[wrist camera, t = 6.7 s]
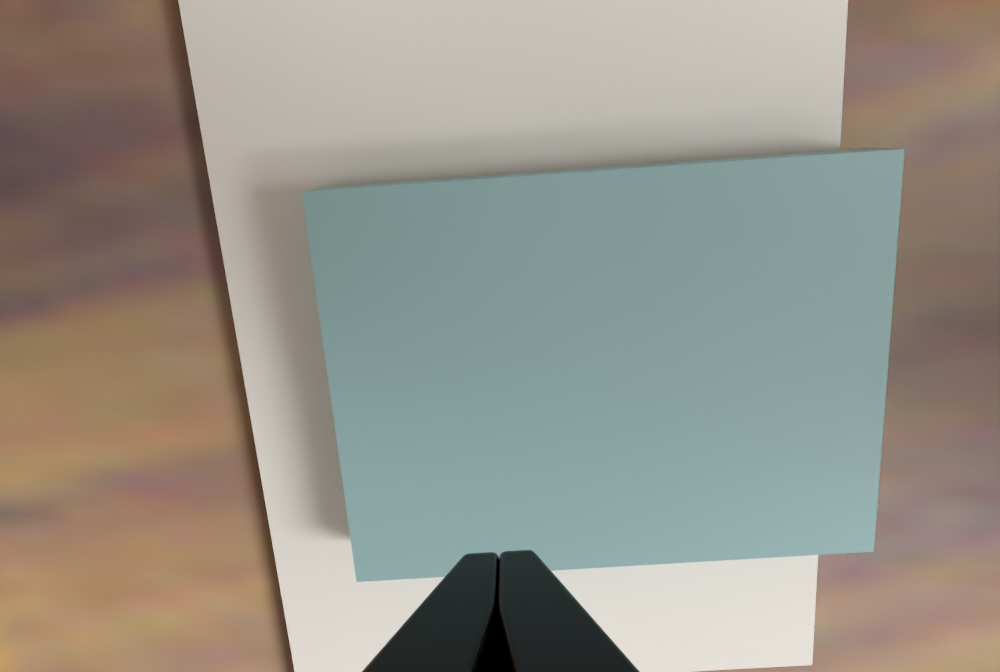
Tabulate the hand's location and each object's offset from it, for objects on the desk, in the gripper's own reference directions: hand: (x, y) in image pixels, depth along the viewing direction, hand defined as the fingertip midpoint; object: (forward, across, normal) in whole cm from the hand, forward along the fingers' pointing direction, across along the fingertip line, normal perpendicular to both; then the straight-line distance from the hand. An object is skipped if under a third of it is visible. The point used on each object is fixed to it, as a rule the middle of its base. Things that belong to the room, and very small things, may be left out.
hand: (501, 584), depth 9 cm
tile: (+8, -8, 0) cm, 11 cm away
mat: (+9, -1, 0) cm, 9 cm away
